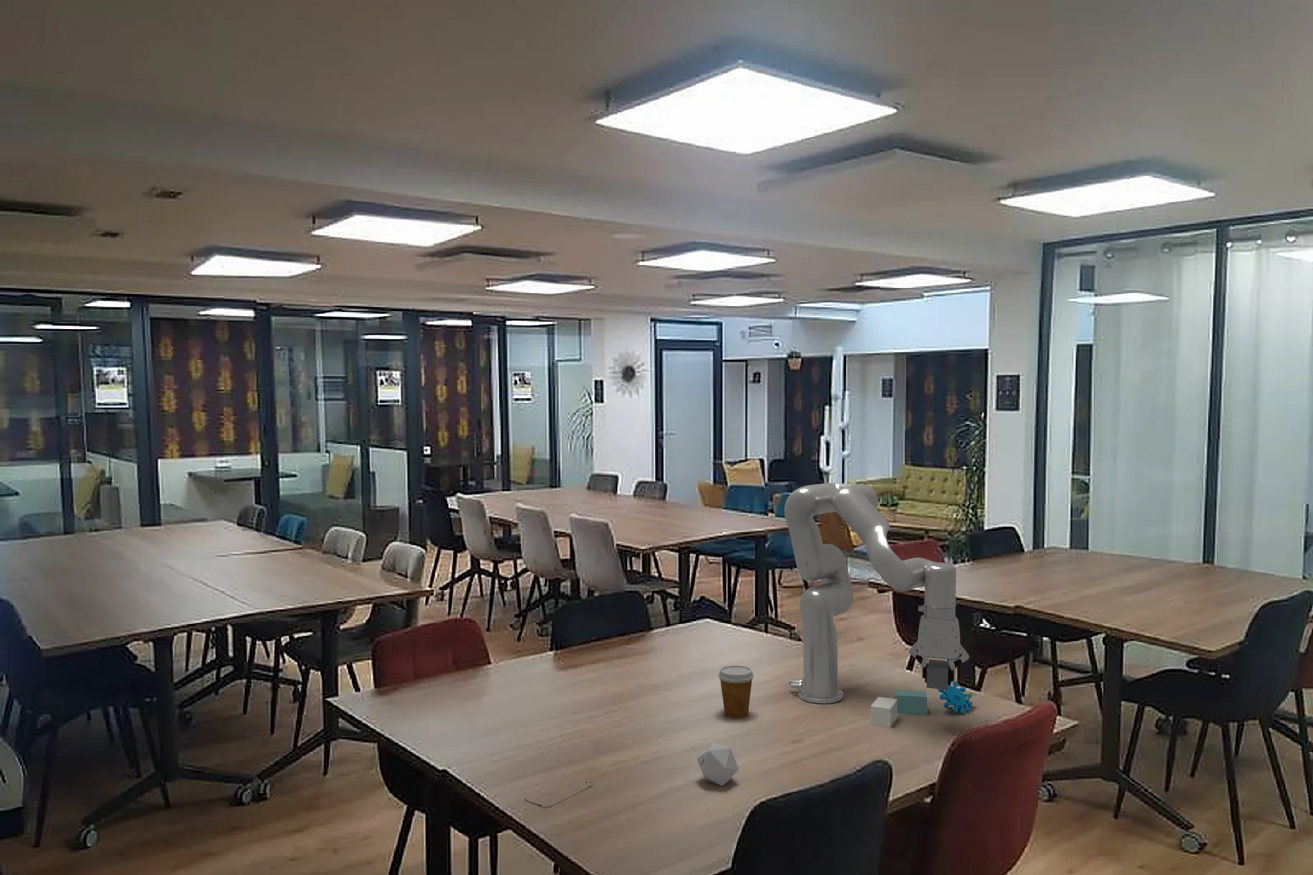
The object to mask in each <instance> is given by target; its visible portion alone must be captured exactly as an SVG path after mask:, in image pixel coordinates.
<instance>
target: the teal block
mask: <svg viewBox="0 0 1313 875" xmlns="http://www.w3.org/2000/svg"><path fill="white" fill-rule="evenodd" d="M894 692H895V693H894V699H897V714H905V715H919V714H920V715H922V716H927V715H928V695H927V691H926V690H918V689H917V690H916V689H915V690H914V689H898V688H897V689H896V688H895V690H894Z"/></svg>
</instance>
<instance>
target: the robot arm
mask: <svg viewBox="0 0 1313 875" xmlns="http://www.w3.org/2000/svg"><path fill="white" fill-rule="evenodd" d="M878 505H879V498H878V494H877V492H876V491H875V489H873V488H872V487H871V486H869V485H868V484H863V483H842V482H841V483H839V482H824V483H818V484H810V485H805V486H801V487H798V488H797V489H795V490H793V491H792V492H791V493H790V494H789V496H788V497H787V499H786V501H785V504H784V509H783V510H784V518H785V521H786V522H785V523H786V524H787V528H788V532H789V535H790V540H791V546H792V550H793V555H794V560H795V565H796V569H797V572H798V575H799V576H800V578H801V579H803V580H804V581H806V582H815V581H816V582H817V581H820V582H821V583H820V584H818V585H817V584H816V585H813V586H811V587H809V588H807V589H806V590H805V591H804V592H803V593H802V594H801V597H800V598H799V610H800V616H801V622H802V638H803V640H802V643H803V644H802V646H803V649H802V650H803V652H802V653H803V678H799V679H796V678H788V686H790V688H792V689H793V688H794V689H798V691H797V692H798V693H797V694H798V696H797V697H799V698H800V699H801V700H803V701H806V702H809V703H813V704H814V703H815V704H833V703H837V702H840V701H842V700H843V699H844V692H843V691H842V690H841V689H839V685H838V684H839V682H838V679H839V677H838V674H839V673H838V672H839V671H838V670H839V668H838V665H839V664H838V661H839V660H838V659H839V658H838V654H839V653H838V651H839V650H838V630H837V627H836V624H835V622H834V617H836V616H838V615H842V614H844V613H847V612H848V611H849V610H850V609H851V608H852V607H853V602H854V593H853V592H854V591H853V586H852V582H851V579H850V578H851V577H850V573H849V567H848V564H847V560H846V557H845V555H844V553H843V552H842V551H841V549H840V548H839V547H837V546H836V545H835V544H831V543H824V542H823V539H822V534H821V530H820V527H819V526H818V524H817V522H816V521H815V520H814V518H813V517H814V516H817V515H822V514H823V515H824V514H828V513H837V514H838V516H839V517H840V518H842V520H843V521H844V522H845V523H846V524H847V525H848V527H849V528H850V529H851V530H852V532H854V533H855V535H857V537H858V538H859V539H860V540H861V541H862V542H863V545H864V546H865V551H866V554H867V558H868V560H869V562H870V564H871V566H872V568H873V569H874V571H875V572H876V573H877V574H878V575H879V577H880V578H881V579H882V580H883V581H884V582H885V583H886V584H887V585H888V586H890V588H892V589H894V590H896V591H898V592H908V591H910V590H913V589H918V588H922V587H924V604H923V605H918V609H917V610H918V612H921V613H923V615H921V616H920V618H919V619H920V620H919V624H918V625H919V626H918V636H917V637H918V638H917V641H916V642H915V643H914V644H913V645H912V646H911V647H910V648H909V649H908V653H909V654H910V655H911V656H912V657H913V658H914V659H915V660H916V661H917V662H918V663H919V664H920V666H921V667H922V670H921V671H922V672H921V673H922V674H921V675H922V676H921V677H922V679H924V684H927V666H928V663H929V658H930V659H938V660H939V659H941V660H947V661H949V670H948V685H950V686H952V683H953V682H954V681H955V670H956V669H957V668H958V667H959V666H961V665H962V664H963V663H964V662H966V661H968V660H969V659H970V655H969V653H968V652H967V650H965V648H964V647H963V646H962V644H961V634H960V633H961V632H960V625H959V624H960V623H959V619H958V617H956V604H957V603H956V598H957V597H956V596H957V569H956V567H955V565H952V564H951V563H947V562H935V561H933V560H930V559H927V558H923V557H913V558H908V559H905V560H904V559H903V560H902V559H901V558H900V557H899V556H898V555H897V554H896V552H894V551H893V550H892V548H891V546H890V544H889V542H888V538H887V534H888V532H889V531H890V528H891V527H890V526H891V525H890V522H889V521H888V520H887V519H886V518H885V517H884V516H883V515H882V514H881V513H880V511H878V509H877V508H878ZM960 655H961V656H960Z"/></svg>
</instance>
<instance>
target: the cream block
mask: <svg viewBox="0 0 1313 875" xmlns="http://www.w3.org/2000/svg"><path fill="white" fill-rule="evenodd" d="M897 719H898V713H897V699H895V698H888V697H882V696H878V697H876V699H875V700H874V701H873V703H871V705H870V725H873V726H876V727H877V726H878V727H884V728H892V726H893V724H894V723H895V722H896V720H897Z"/></svg>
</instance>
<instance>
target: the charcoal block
mask: <svg viewBox="0 0 1313 875" xmlns="http://www.w3.org/2000/svg"><path fill="white" fill-rule="evenodd" d="M927 663H928V666H927V683H926V689H932V690H933V689H934V690H938V689H941V690H944V691H945V690H947V689H948V670H949V661H948V660H943V659H941V660H939V659H933V658H930V659H929V658H928V662H927Z"/></svg>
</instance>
